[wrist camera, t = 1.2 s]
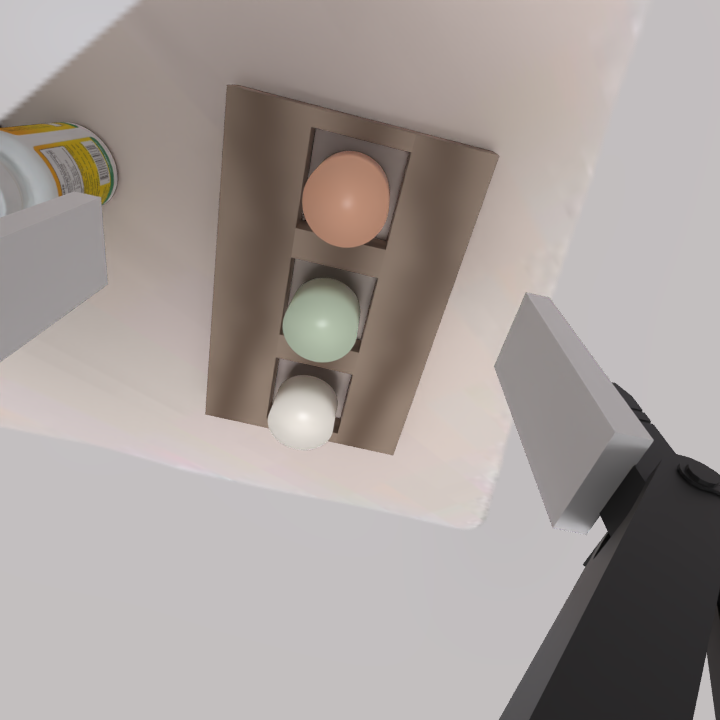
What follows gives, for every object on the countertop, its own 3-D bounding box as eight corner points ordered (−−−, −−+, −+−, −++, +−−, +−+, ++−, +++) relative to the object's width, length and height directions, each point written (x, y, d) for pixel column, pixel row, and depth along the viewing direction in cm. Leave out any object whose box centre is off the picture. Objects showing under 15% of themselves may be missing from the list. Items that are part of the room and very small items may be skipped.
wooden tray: (213, 400, 40) (205, 414, 38) (237, 84, 28) (227, 85, 26) (393, 439, 41) (393, 455, 39) (493, 151, 29) (499, 155, 27)
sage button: (287, 332, 33) (278, 353, 31) (297, 270, 31) (288, 287, 28) (352, 347, 34) (348, 369, 31) (367, 286, 31) (364, 305, 29)
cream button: (273, 417, 37) (264, 442, 35) (281, 369, 35) (271, 391, 32) (331, 430, 38) (326, 456, 35) (343, 383, 35) (339, 406, 33)
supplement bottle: (132, 158, 30) (35, 186, 22) (102, 223, 33) (4, 270, 24) (53, 100, 29) (-83, 108, 21) (27, 172, 31) (-104, 204, 23)
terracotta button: (304, 223, 29) (296, 236, 27) (318, 141, 27) (309, 147, 24) (379, 241, 30) (377, 256, 27) (398, 162, 27) (399, 170, 24)
